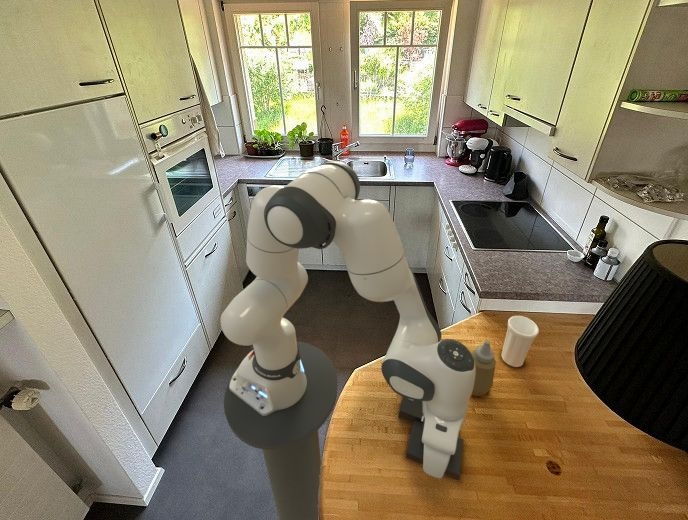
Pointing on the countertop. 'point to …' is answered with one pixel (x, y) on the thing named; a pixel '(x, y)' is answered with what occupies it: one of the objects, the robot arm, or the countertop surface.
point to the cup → (518, 340)
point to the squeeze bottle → (483, 368)
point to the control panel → (411, 410)
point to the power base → (417, 451)
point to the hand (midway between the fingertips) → (436, 441)
